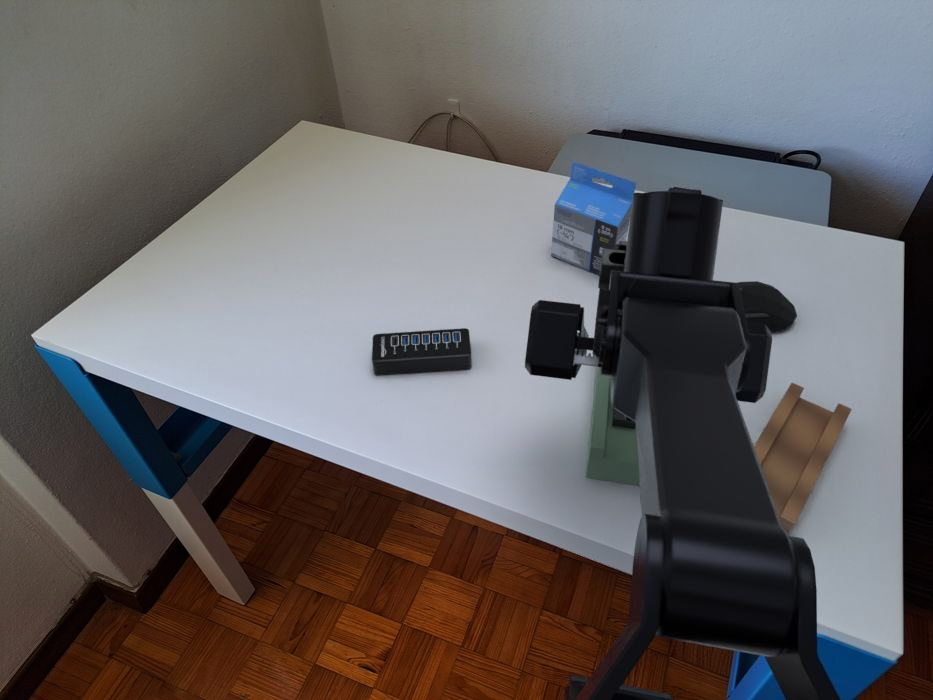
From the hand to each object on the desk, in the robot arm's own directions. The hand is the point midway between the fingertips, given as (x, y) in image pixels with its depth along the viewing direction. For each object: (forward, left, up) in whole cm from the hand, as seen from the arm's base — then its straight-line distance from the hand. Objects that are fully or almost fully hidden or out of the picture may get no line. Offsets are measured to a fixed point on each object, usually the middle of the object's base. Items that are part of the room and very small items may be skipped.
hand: (635, 349), depth 63 cm
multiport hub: (-3, +23, -11) cm, 26 cm away
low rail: (+3, -16, -11) cm, 19 cm away
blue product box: (+22, +14, -11) cm, 29 cm away
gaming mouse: (+21, -5, -11) cm, 24 cm away
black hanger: (0, 0, -7) cm, 7 cm away
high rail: (0, 0, -11) cm, 11 cm away
